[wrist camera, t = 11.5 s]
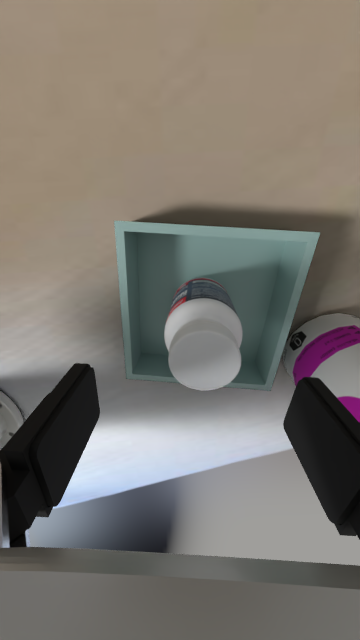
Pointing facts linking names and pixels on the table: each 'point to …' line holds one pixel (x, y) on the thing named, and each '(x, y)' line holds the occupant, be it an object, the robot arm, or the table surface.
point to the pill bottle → (203, 335)
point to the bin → (222, 266)
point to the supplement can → (328, 356)
